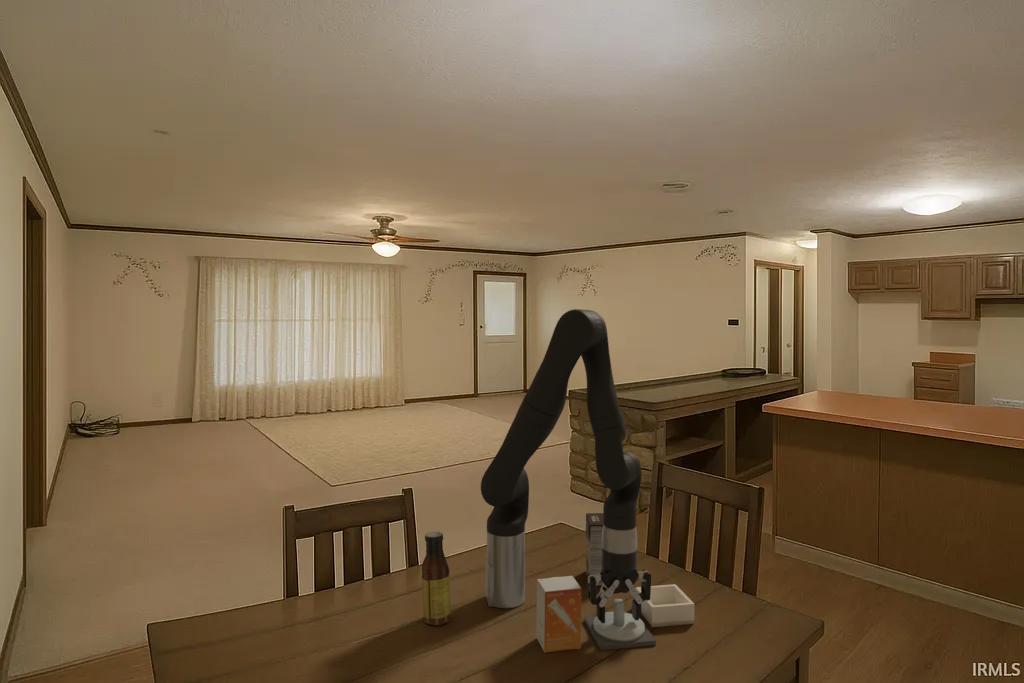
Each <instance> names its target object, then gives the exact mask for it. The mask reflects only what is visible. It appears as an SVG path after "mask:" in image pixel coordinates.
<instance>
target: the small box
mask: <svg viewBox="0 0 1024 683" xmlns="http://www.w3.org/2000/svg"><path fill="white" fill-rule="evenodd" d="M536 639H537V641H538V643H539V645H540V647H541V649H542V651H543V653H545V654H548V653H551V652H552V653H553V652H560V651H568V650H580V649H581V646H582V645H581V644H582V643H581V641H582V587H581V586H580V584H579V582H577V580H576V578H575V577H574V576H573V575H566V576H552V577H547V578H546V577H545V578H537V579H536Z"/></svg>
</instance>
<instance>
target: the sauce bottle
mask: <svg viewBox="0 0 1024 683" xmlns="http://www.w3.org/2000/svg"><path fill="white" fill-rule="evenodd" d="M443 540H444V534H443V532H441V531H439V530H434V531H433V530H432V531H428V532H426V533H425V534H424V541H425V547H426V550H425V557H424V559H423V561H422V564H421V585H422V586H421V587H422V588H421V589H422V609H423V610H422V613H423V614H422V615H423V619H424V622H425V624H428V625H430V626H442V625H446V624H447V623H449V621H450V620H451V612H452V605H451V602H452V600H451V577H450V567H449V564H448V562H447V558H446V555H445V553H444V548H443Z"/></svg>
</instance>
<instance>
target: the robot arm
mask: <svg viewBox="0 0 1024 683" xmlns="http://www.w3.org/2000/svg"><path fill="white" fill-rule="evenodd" d="M608 336H609V335H608V328H607V325H606V321H605V319H604V318H603V316H602V315H601V314H600V313H599V312H596V311H594V310H590V309H580V308H579V309H577V308H574V309H570V310H567V311H566V312H565V313H563V314H562V315H561V317H559V319H558V320H557V322H556V325H555V327H554V330H553V332H552V335H551V338H550V341H549V344H548V346H547V350H546V351H545V354H544V357H543V359H542V361H541V363H540V365H539V368H538V370H537V371H536V373H535V376H534V378H533V380H532V382H531V383H530V386H529V387H528V389H527V391H526V392H525V395H524V397H523V398H522V401H521V404H520V405H519V408H518V410H517V412H516V414H515V417H514V419H513V420H512V423H511V424H510V427H509V429H508V432H507V434H506V436H505V438H504V440H503V442H502V444H501V446H500V447H499V450H498V451H497V453H496V454H495V456H494V458H493V459H492V461H491V463H490V464H489V466H488V467H487V469H486V470H485V472H484V474H483V475H482V478H481V481H480V494H481V496H482V498H483V500H484V502H485V503H486V504H487V505H490V506H492V507H493V509H492V511H491V512H490V514H489V516H488V517H487V520H486V557H485V597H486V602H487V605H488V607H495V608H498V609H513V608H516V607H519V606H521V605H523V603H525V600H526V586H525V585H526V580H525V579H526V566H525V565H526V557H525V556H526V546H525V545H526V544H525V542H526V540H525V537H526V534H525V532H526V522H527V519H528V516H529V503H530V501H529V499H530V498H529V497H530V482H529V481H530V480H529V475H528V473H527V471H526V469H525V466H526V465H527V463H528V462H529V460H530V459H531V458H532V456H533V455H534V454H535V453H536V451H538V449H539V448H540V447H541V446H542V445H543V443H544V442H545V441H546V440H547V439H548V437H549V436H550V435H551V433H552V432H553V430H554V429H555V426H556V425H557V423H558V420H559V419H560V417H561V415H562V413H563V411H564V408H565V404H566V401H567V395H568V385H569V380H570V378H571V375H572V372H573V370H574V368H575V367H576V364H577V363H578V361H579V359H580V358H581V359H582V361H583V362H582V363H583V364H584V370H585V375H586V408H587V413H588V414H587V415H588V418H589V419H588V420H589V422H590V426H591V429H592V432H593V436H594V453H595V454H594V455H595V467H596V471H597V472H596V473H597V476H598V479H600V480H599V481H600V482H601V483H602V484H603V486H604V487H605V488H608V489H609V490H610V491H609V495H608V496H607V497H606V498H605V499H604V502H603V506H602V507H603V512H602V513H603V531H602V540H601V543H602V570H601V572H600V574H596V575H593V574H592V573H588V575H587V574H586V576H587V579H586V580H587V599H588V601H589V602H590V605H595V606H596V615H595V616H597V618H598V619H599V621H600V622H601V623H605V612H606V603H607V601H608V600H609V599H611V598H612V596H613V595H616V594H620V593H623V594H627V593H628V592H629V593H630V594H631V596H632V598H633V599H632V601H631V602H632V603H631V605H632V606H631V608H632V609H631V610H632V611H631V613H632V616H633V618H634V620H635V621H637V620H639V618H641V617H642V614H641V604H642V602H643V601H645V600H647V601H648V600H650V594H651V586H652V574H651V573H650V572H649V571H648V570H647V569H646V568H644V569H642V570H639V571H638V570H637V569H638V532H637V502H638V499H639V495H640V489H641V483H642V472H643V471H642V465H641V463H640V460H639V459H638V457H637V456H636V455H635V454H634V453H632V452H630V451H624V449H623V448H624V447H623V442H624V440H625V439H626V437H627V429H626V426H625V422H624V418H623V414H622V411H621V410H622V409H621V407H620V402H619V398H618V395H617V391H616V387H615V383H614V376H613V370H612V363H611V356H610V348H609V338H608ZM600 580H602V581H603V585H601V587H600V589H599V592H598V595H597V586H599V585H598V583H599V581H600ZM638 580H640V582H641V583H640V584H641V585H640V587H641V593H639V594H638V592H637V590H636V587H635V586H634V585H635V584H636V582H637V581H638Z"/></svg>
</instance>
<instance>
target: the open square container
mask: <svg viewBox="0 0 1024 683" xmlns="http://www.w3.org/2000/svg"><path fill="white" fill-rule="evenodd" d="M635 589H636V590H637V592H638V594H639V593H641V586H637V587H635ZM641 616H643V618H644V619H645V620H646V621H647V623H648V624H649V625H650V627H651V628H659V627H660V628H662V627H671V626H680V625H681V626H682V625H683V626H684V625H694V624H695V603H694V602H693V601H692V600H691V599H690V597H689V596H688V595H686V593H685V592H684V591H683V590H682V589H681V588H680V587H679V586H678V585H677V584H662V585H661V584H660V585H651V594H650V600H648V601H647V600H645V601H643V602H642V604H641Z"/></svg>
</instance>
